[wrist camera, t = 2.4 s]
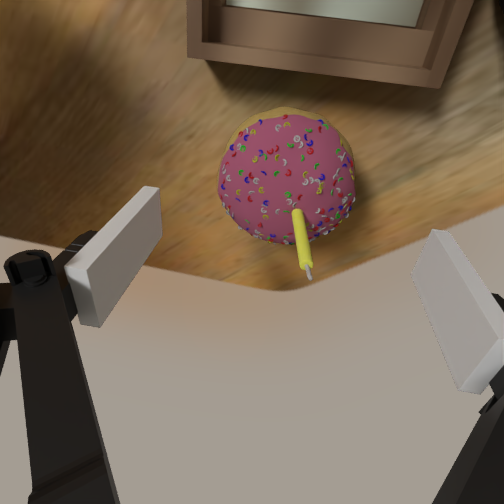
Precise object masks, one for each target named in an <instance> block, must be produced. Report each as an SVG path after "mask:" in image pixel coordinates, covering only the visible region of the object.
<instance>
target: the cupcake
mask: <svg viewBox="0 0 504 504" xmlns="http://www.w3.org/2000/svg"><path fill="white" fill-rule="evenodd" d="M354 181H355V168H354V159H353V153H352V150H351V147H350V145H349V143H348V142H347V140H346V139H345V138H344V137H343V136H342V134H341V133H340V132H339V131H338V130H337V129H335V128H334V127H333V126H332V125H331V124H330V123H329V122H328V121H327V119H326V118H324V117H323V116H321V115H319V114H316V113H312V112H308V111H304V110H300V109H296V108H292V107H278V108H275V109H272V110H269V111H265V112H261V113H258V114H256V115H253V116H251V117H250V118H248V119H247V120H246V121H245V122H244V123H243V124H241V125H240V126H239V127H238V128H237V130H236V131H235V132H234V134H233V135H232V137H231V138H230V140H229V142H228V144H227V146H226V149H225V151H224V154H223V157H222V160H221V163H220V166H219V170H218V176H217V190H218V194H219V197H220V199H221V201H222V205H224V206H223V207H225V208H226V210H227V211H226V213H227V214H228V213H229V214H228V215H230V216H231V217H232V218H233V220H234V221H235V222H236V223H237V224H238V225H239V226H238V228H239V229H244V230H245V231H247V232H248V233H250V234H251V235H252V236H254V237H255V238H259V239H262V240H265V241H268V243H274V242H275V243H282V244H291V243H292V244H291V245H293V244H296V246H297V252H298V259H299V265H300V268H301V269H303V270H306V272H307V277H308V279H309V280H310V281H311V280H313V278H312V275H311V270H310V269H311V268H312V267H313V260H312V255H311V250H310V245H309V242H311V241H314V240H315V238H317V237H319V236H321V235H322V234H323V235H326V234H327V233H329V232H330V231H331V230H334V229H335V227H337V226H338V223H341V222H342V219H343V218H344V217H345V218H348V216H349V213H348V211H350V210H351V206H352V204H353V202H354V201H355V196H356V192H355V187H354ZM346 216H347V217H346ZM275 243H274V244H275ZM275 245H276V244H275Z"/></svg>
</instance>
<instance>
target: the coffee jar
mask: <svg viewBox="0 0 504 504" xmlns="http://www.w3.org/2000/svg"><path fill="white" fill-rule="evenodd" d="M499 4H500V7H501V9H502V11H503V14H504V0H499Z"/></svg>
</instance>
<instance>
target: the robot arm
mask: <svg viewBox="0 0 504 504" xmlns="http://www.w3.org/2000/svg"><path fill="white" fill-rule="evenodd" d="M162 236H163V234H162V219H161V204H160V189H159V188H156V187H149V186H144V187H143V188H142V189H141V190H140V191H139V192H138V193H137V194H136V195H135V196H134V197H133V198H132V199H131V200H130V201H129V202H128V203H127V204H126V205H125V206H124V207H123V208H122V209H121V210H120V211H119V212H118V213H117V214H116V215H115V216H114V217H113V218H112V219H111V220H110V221H109V222H108V223H107V224H106V225H105V226H104V227H103V228H102V229H101V230H100V231H99V232H98V231H92V230H90V231H88V232H86V233H84V234H82V235H80V236H78V237H77V238H76V239H75V240H74V241H73V242H72V243H71V245H69V246H68V247H67V248H66V249H65V251H62V252H61V253H60V254H59V255H58V256H57V257H56V258H55V259H54V260H53V261H52V259H51V256H50V254H49V253H48V252H46V251H43V250H26V251H23V252H19V253H17V254H15V255H13V256H11V257H9V258H8V259H7V260H6V261H5V264H4V269H5V271H6V274H7V276H8V279H9V281H10V283H0V375H1V372H2V368H3V364H4V362H5V358H6V355H7V351H8V348H9V344H10V341H11V340H17V342H18V351H19V361H20V369H21V380H22V389H23V399H24V409H25V418H26V428H27V437H28V447H29V456H30V467H31V476H32V493H31V494H30V495H29V497H28V504H120V501H119V498H118V494H117V490H116V486H115V483H114V479H113V475H112V472H111V468H110V464H109V461H108V457H107V453H106V449H105V446H104V442H103V438H102V434H101V431H100V427H99V424H98V420H97V416H96V412H95V409H94V405H93V401H92V397H91V394H90V390H89V386H88V382H87V379H86V375H85V371H84V368H83V364H82V360H81V356H80V353H79V349H78V345H77V341H76V338H75V334H74V330H73V327H72V323H71V321H72V320H73V318H74V317H75V316H76V314H78V317H79V321H80V324H82V325H87V326H93V327H99V328H100V327H101V326H102V324H103V323H104V321H105V320H106V318H107V317H108V315H109V314H110V312H111V311H112V309H113V308H114V306H115V305H116V304H117V302H118V301H119V299H120V297H121V296H122V295H123V293H124V292H125V290H126V289H127V287H128V286H129V284H130V283H131V281H132V280H133V278H134V277H135V275H136V274H137V273H138V271H139V270H140V268H141V267H142V265H143V264H144V262H145V261H146V259H147V258H148V256H149V255H150V253H151V252H152V250H153V249H154V247H155V246H156V245H157V243H158V242H159V240H160V239H161V237H162ZM411 277H412V279H413V282H414V284H415V287H416V289H417V292H418V294H419V296H420V299H421V301H422V304H423V306H424V309H425V311H426V314H427V316H428V318H429V321H430V323H431V326H432V328H433V331H434V333H435V335H436V338H437V340H438V343H439V345H440V348H441V350H442V353H443V355H444V358H445V360H446V362H447V365H448V367H449V370H450V372H451V375H452V377H453V380H454V382H455V384H456V387H457V389H458V391H463V392H470V393H475V394H481V393H482V392H483V391H484V389H485V388H486V387H487V386H488V385H489V384H490V386H491V388H492V390H493V392H494V395H493V396H492V398H491V399H490V400H489V401H488V402H487V403H486V404H485V405H484V406H483V408H482V409H481V410H480V411H479V413H480V414H481V416H480V418H479V420H478V421H477V423H476V425H475V427H474V428H473V430H472V432H471V434H470V436H469V438H468V439H467V441H466V443H465V445H464V447H463V448H462V450H461V452H460V454H459V456H458V457H457V459H456V461H455V463H454V465H453V466H452V469H451V470H450V472H449V474H448V476H447V477H446V479H445V481H444V483H443V485H442V486H441V488H440V490H439V492H438V494H437V496H436V497H435V499H434V501H433V503H432V504H504V299H503V298H502V297H501V296H499V295H498V294H494V293H490V292H489V290H488V288H487V287H486V285H485V284H484V283H483V281H482V279H481V278H480V277H479V275H478V274H477V272H476V271H475V269H474V268H473V266H472V265H471V263H470V262H469V260H468V259H467V257H466V256H465V255H464V253H463V252H462V250H461V248H460V247H459V246H458V244H457V243H456V241H455V240H454V238H453V237H452V235H451V234H450V232H449V231H443V230H436V229H432V230H431V233H430V235H429V237H428V239H427V241H426V243H425V245H424V247H423V249H422V252H421V254H420V256H419V258H418V260H417V262H416V264H415V266H414V268H413V270H412V273H411Z"/></svg>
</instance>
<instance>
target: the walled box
mask: <svg viewBox="0 0 504 504" xmlns="http://www.w3.org/2000/svg"><path fill="white" fill-rule="evenodd" d="M473 2H474V0H187V57H188V58H196V59H204V60H212V61H220V62H228V63H236V64H244V65H252V66H260V67H268V68H276V69H284V70H292V71H300V72H308V73H316V74H324V75H332V76H340V77H348V78H356V79H364V80H372V81H380V82H388V83H396V84H404V85H412V86H420V87H428V88H436V89H440V87H441V85H442V82H443V80H444V77H445V74H446V72H447V69H448V67H449V64H450V61H451V59H452V56H453V54H454V51H455V49H456V46H457V43H458V41H459V38H460V36H461V33H462V30H463V28H464V25H465V23H466V20H467V17H468V15H469V12H470V10H471V7H472V4H473Z"/></svg>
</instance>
